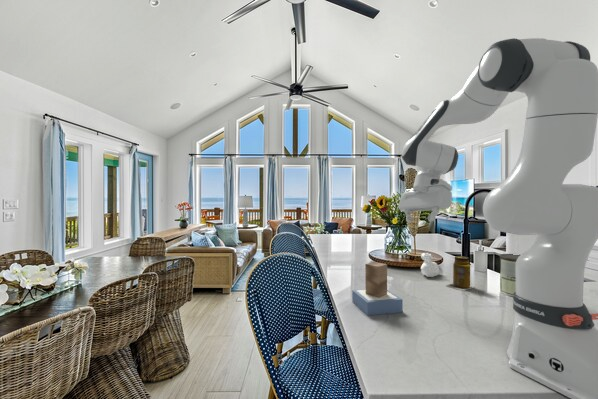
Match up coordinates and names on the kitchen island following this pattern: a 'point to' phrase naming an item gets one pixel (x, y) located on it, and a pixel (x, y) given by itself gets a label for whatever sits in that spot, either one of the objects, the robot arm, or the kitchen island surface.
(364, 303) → the pedestal
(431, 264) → the white rounded piece
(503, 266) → the coffee can
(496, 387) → the kitchen island surface
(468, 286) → the condiment
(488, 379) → the kitchen island surface
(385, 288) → the walnut block
